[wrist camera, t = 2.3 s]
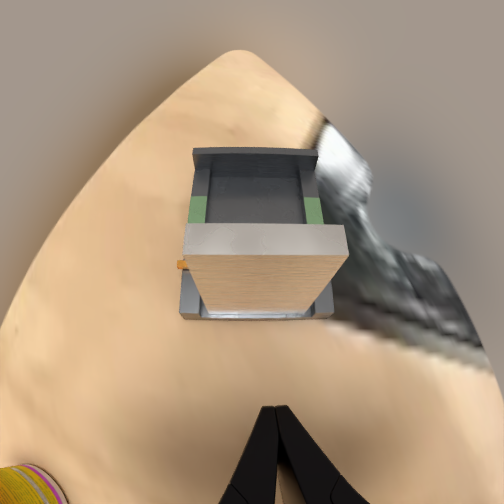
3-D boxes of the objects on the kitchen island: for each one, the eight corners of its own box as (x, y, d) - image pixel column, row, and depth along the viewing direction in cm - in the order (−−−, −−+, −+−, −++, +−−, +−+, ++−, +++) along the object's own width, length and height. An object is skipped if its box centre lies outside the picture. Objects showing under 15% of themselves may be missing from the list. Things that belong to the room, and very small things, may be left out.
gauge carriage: (333, 312, 21) (394, 255, 12) (178, 313, 21) (131, 254, 12) (327, 261, 23) (374, 182, 14) (182, 261, 22) (148, 177, 13)
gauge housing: (326, 318, 22) (343, 304, 18) (184, 319, 21) (172, 305, 18) (309, 178, 28) (317, 150, 24) (198, 176, 27) (193, 147, 24)
